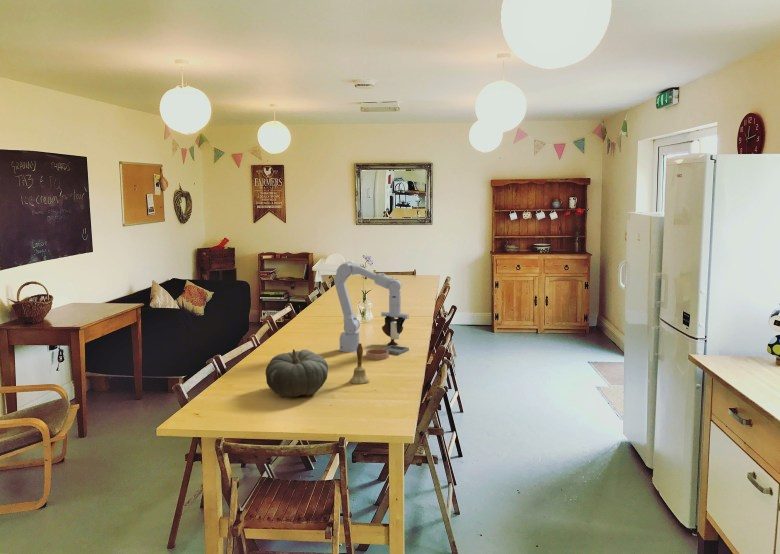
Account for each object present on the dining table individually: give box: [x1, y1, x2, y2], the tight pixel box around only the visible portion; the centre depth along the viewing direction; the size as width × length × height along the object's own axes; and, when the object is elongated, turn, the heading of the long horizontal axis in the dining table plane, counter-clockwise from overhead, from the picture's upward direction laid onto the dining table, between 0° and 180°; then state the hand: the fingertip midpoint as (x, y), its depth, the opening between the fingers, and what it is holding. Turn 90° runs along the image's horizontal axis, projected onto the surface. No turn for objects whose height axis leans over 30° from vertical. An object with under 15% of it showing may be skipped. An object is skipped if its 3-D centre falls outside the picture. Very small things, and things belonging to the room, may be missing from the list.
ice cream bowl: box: [381, 317, 404, 347], centre depth 315 cm, size 11×11×15 cm
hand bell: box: [349, 342, 370, 385], centre depth 253 cm, size 8×8×16 cm
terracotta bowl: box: [365, 348, 390, 361], centre depth 290 cm, size 11×11×3 cm
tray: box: [382, 345, 410, 356], centre depth 300 cm, size 10×10×2 cm
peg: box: [390, 322, 400, 341], centre depth 299 cm, size 4×4×8 cm
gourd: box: [265, 349, 329, 398], centre depth 239 cm, size 25×25×17 cm
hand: (394, 332), depth 299 cm, fingers closed on peg, 4 cm apart
